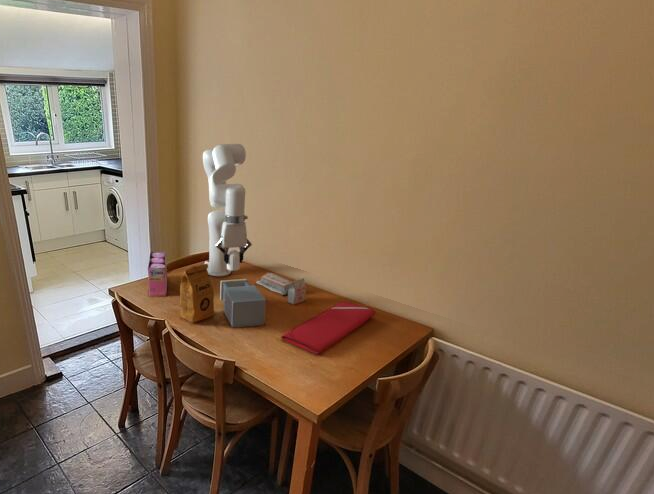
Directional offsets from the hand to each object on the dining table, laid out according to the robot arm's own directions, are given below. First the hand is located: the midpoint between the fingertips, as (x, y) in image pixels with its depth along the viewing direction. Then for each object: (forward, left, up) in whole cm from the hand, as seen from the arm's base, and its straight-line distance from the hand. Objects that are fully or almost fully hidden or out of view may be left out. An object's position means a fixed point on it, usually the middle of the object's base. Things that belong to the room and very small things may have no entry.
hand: (233, 261), depth 171 cm
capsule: (0, 0, -3) cm, 3 cm away
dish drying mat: (+44, +1, -18) cm, 47 cm away
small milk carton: (+23, +16, -18) cm, 33 cm away
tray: (+3, -3, -17) cm, 17 cm away
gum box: (-36, -7, -18) cm, 41 cm away
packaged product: (+9, +25, -18) cm, 32 cm away
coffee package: (-2, -22, -18) cm, 29 cm away
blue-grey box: (+13, -11, -18) cm, 25 cm away
